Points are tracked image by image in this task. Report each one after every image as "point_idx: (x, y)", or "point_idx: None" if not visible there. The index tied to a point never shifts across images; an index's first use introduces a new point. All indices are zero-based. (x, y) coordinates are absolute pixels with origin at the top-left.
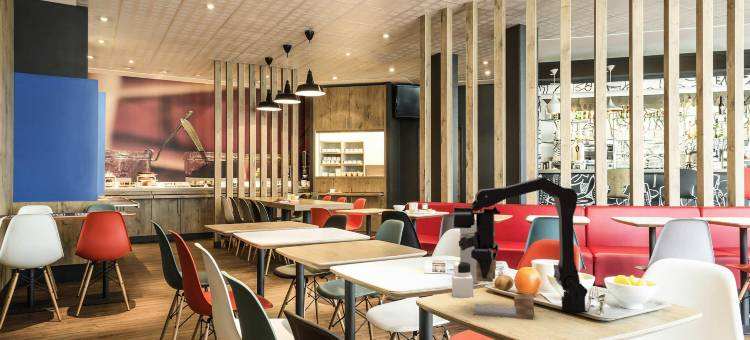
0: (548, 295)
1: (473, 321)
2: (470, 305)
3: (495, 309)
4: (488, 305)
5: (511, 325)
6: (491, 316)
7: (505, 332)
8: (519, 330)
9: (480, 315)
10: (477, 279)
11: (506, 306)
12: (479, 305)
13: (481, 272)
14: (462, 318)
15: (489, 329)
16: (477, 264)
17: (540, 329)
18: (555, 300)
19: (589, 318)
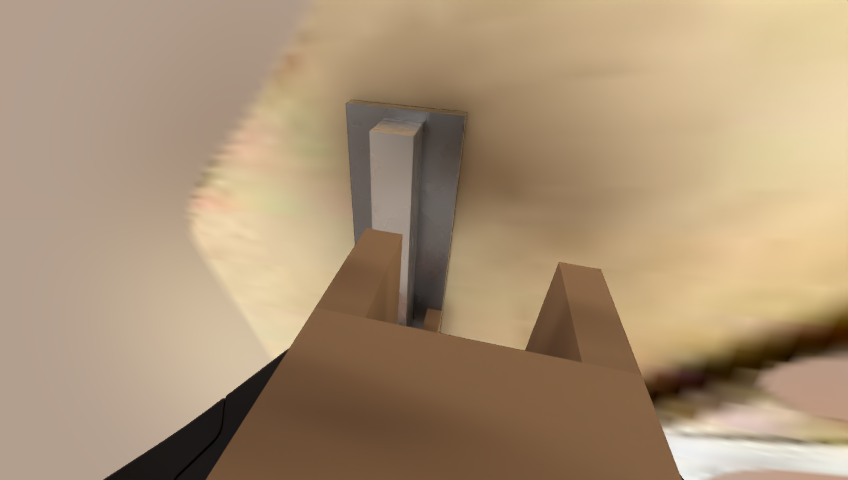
0: (830, 459)
1: (282, 109)
2: (672, 60)
3: None
4: (399, 214)
5: (296, 267)
6: (352, 205)
7: (204, 240)
8: (251, 284)
9: (349, 150)
10: (358, 248)
11: (401, 296)
12: (382, 161)
13: (281, 355)
14: (312, 32)
15: (203, 186)
16: (244, 439)
17: (293, 338)
18: (713, 453)
19: None
